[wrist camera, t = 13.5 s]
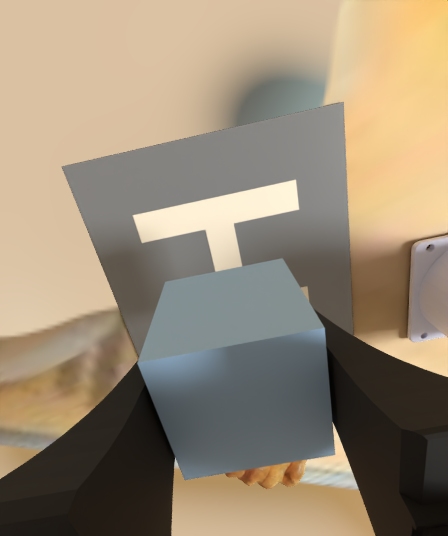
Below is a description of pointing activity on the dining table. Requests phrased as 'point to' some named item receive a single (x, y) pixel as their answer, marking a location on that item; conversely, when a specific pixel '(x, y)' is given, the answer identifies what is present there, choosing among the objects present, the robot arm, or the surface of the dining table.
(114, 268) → the board
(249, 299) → the blue cube
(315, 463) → the dining table surface
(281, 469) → the pastry
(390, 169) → the dining table surface
